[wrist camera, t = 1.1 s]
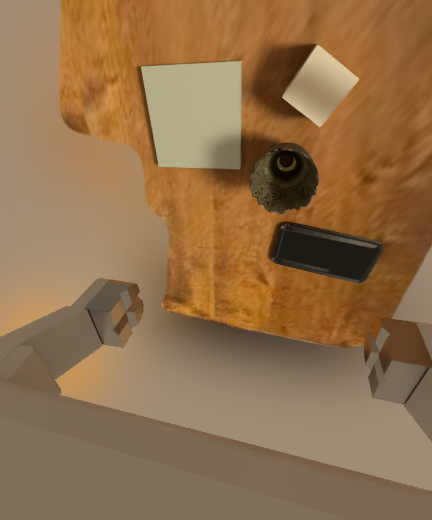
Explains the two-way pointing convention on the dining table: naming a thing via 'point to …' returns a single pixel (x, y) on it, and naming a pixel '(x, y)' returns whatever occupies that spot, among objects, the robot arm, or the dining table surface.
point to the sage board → (196, 113)
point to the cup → (284, 179)
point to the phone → (326, 252)
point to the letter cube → (319, 86)
